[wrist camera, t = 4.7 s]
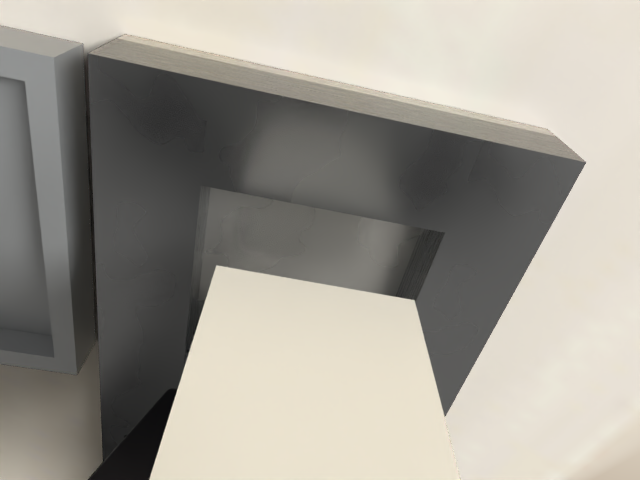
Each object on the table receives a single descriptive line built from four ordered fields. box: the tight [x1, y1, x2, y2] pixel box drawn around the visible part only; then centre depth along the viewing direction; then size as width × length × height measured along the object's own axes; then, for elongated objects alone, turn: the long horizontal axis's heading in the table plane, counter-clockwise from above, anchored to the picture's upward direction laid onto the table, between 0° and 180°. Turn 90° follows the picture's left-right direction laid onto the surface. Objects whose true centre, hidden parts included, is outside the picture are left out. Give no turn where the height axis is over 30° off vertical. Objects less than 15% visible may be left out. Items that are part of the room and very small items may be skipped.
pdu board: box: [88, 34, 586, 462], centre depth 15 cm, size 18×10×2 cm, turn 168°
